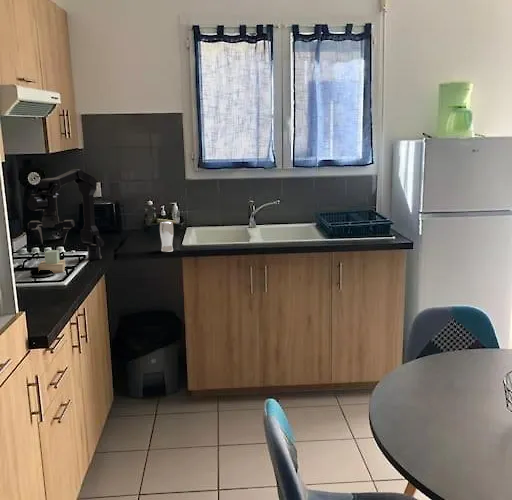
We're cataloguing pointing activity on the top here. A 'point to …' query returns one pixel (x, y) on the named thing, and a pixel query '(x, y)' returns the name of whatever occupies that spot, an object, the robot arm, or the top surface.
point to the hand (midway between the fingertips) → (52, 243)
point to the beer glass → (166, 236)
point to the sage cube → (52, 257)
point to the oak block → (53, 266)
